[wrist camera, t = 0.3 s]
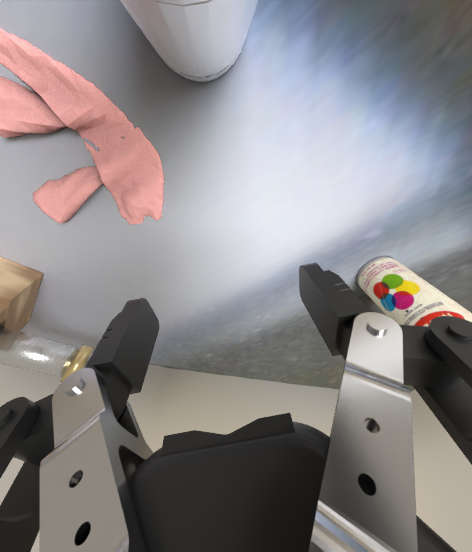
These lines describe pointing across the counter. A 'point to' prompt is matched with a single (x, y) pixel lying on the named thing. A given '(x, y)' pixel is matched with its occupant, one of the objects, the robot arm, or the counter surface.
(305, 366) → the counter surface
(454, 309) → the aerosol can
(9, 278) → the bearing block
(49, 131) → the cloth
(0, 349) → the shaft
